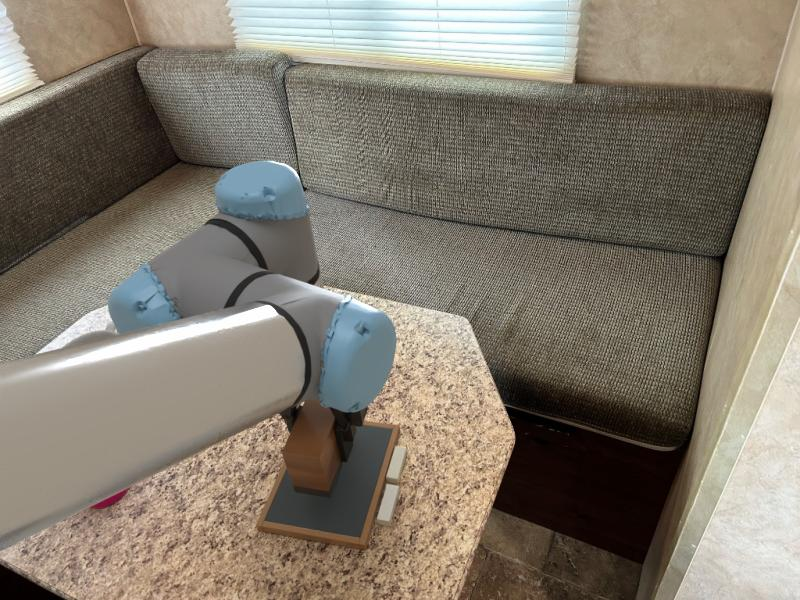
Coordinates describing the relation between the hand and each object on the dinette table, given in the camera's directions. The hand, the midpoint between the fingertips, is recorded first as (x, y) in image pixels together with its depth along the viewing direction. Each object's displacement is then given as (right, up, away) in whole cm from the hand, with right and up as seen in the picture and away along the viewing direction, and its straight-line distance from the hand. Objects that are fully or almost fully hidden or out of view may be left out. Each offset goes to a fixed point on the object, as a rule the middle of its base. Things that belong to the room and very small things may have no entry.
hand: (327, 449), depth 76 cm
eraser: (0, -1, +1) cm, 1 cm away
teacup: (-37, +6, +21) cm, 43 cm away
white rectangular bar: (+7, -7, -1) cm, 10 cm away
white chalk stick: (+8, -3, +4) cm, 9 cm away
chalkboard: (0, -5, +4) cm, 6 cm away
